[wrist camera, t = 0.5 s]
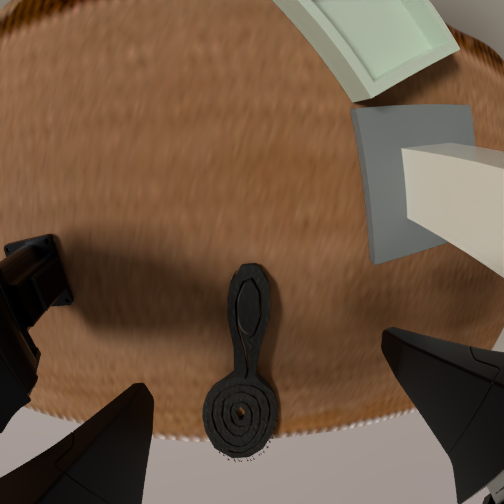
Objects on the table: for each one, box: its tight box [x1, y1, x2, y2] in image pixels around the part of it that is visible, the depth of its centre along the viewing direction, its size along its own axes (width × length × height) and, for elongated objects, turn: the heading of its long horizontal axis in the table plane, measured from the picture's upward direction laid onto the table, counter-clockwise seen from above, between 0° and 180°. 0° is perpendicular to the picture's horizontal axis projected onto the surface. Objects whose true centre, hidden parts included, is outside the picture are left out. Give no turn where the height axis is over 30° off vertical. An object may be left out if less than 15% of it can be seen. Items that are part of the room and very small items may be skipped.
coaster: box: [350, 104, 475, 265], centre depth 20 cm, size 12×12×1 cm
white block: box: [401, 143, 504, 278], centre depth 14 cm, size 6×6×12 cm
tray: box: [272, 0, 460, 103], centre depth 14 cm, size 11×11×3 cm
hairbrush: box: [202, 263, 278, 461], centre depth 25 cm, size 8×4×25 cm
